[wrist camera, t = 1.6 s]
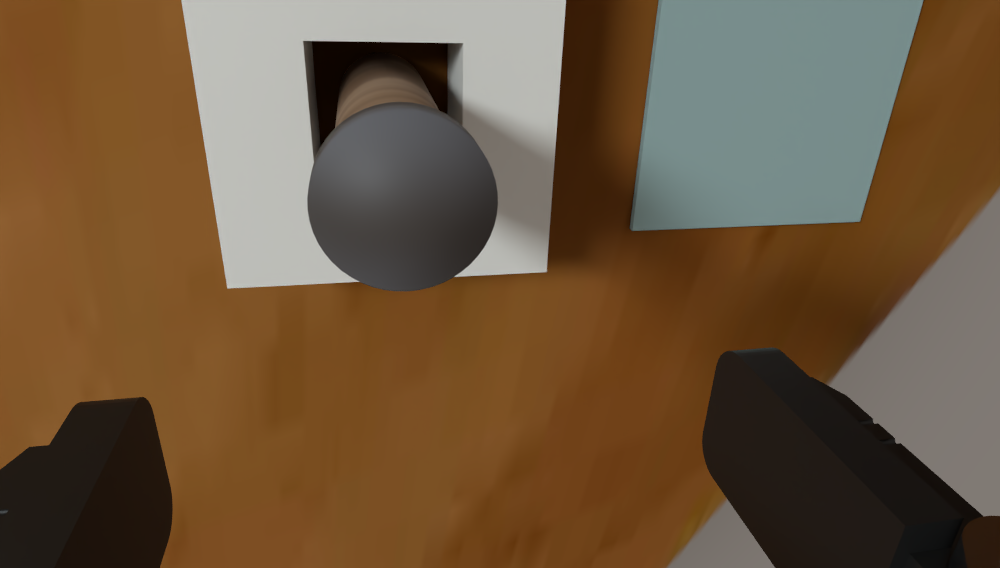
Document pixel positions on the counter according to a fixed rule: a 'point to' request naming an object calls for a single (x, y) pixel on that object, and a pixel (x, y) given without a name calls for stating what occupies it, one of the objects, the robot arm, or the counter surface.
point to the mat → (767, 110)
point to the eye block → (295, 128)
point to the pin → (399, 182)
